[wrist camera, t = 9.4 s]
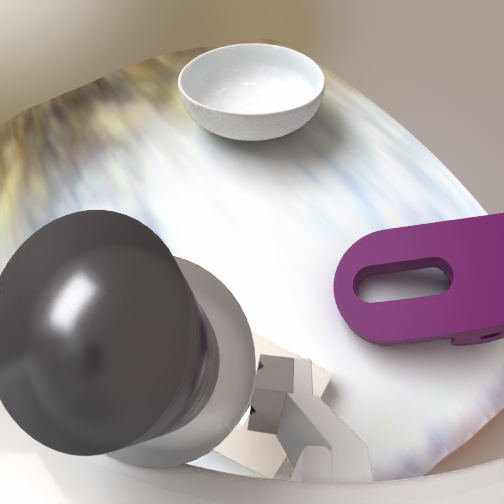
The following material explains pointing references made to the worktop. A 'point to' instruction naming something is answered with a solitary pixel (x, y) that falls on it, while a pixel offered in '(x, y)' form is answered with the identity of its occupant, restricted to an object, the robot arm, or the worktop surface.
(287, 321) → the worktop surface
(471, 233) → the mounting bracket
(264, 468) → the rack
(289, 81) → the cereal bowl
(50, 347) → the capped cylinder peg
